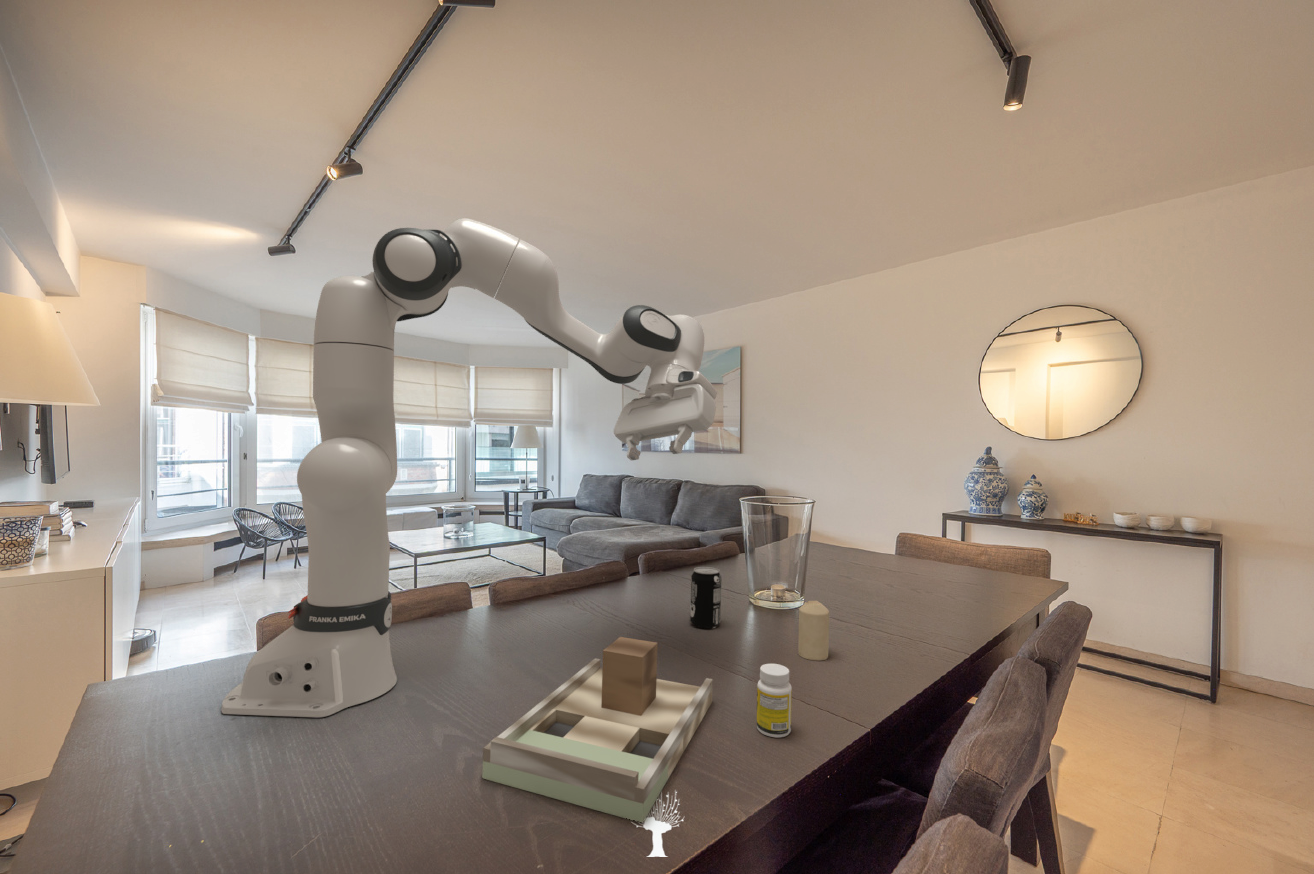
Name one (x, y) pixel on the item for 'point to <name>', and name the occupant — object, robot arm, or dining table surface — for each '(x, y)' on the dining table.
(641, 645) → the walnut block
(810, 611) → the candle
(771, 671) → the supplement bottle
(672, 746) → the box
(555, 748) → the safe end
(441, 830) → the dining table surface
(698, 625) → the beverage can
